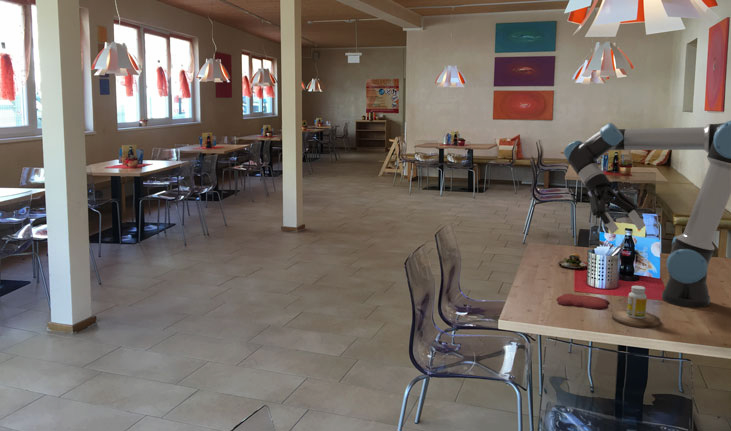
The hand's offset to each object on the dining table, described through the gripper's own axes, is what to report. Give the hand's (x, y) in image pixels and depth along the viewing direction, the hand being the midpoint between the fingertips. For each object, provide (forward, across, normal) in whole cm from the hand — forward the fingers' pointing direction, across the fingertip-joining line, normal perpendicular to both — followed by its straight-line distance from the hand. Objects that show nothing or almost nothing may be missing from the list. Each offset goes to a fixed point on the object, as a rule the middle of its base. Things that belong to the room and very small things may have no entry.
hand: (628, 229), depth 203 cm
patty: (+11, +4, -29) cm, 31 cm away
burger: (-17, -35, -57) cm, 69 cm away
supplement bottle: (+25, +5, -12) cm, 28 cm away
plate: (+26, +5, -13) cm, 29 cm away
